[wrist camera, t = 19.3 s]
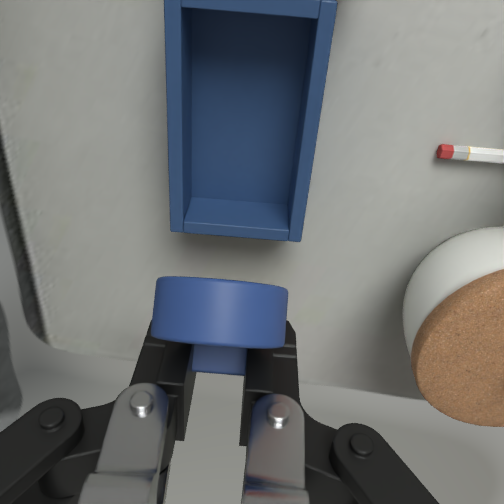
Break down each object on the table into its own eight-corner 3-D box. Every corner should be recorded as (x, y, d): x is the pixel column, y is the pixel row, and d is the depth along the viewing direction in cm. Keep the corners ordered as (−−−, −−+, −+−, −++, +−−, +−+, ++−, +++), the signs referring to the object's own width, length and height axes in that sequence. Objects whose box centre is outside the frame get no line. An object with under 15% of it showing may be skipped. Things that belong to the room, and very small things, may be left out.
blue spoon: (271, 297, 17) (266, 361, 17) (188, 290, 17) (181, 354, 17) (295, 285, 10) (287, 402, 9) (143, 272, 10) (130, 389, 9)
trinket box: (569, 303, 31) (672, 424, 23) (410, 351, 33) (452, 473, 26) (547, 166, 25) (669, 261, 18) (361, 236, 28) (395, 345, 20)
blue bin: (181, 201, 27) (170, 232, 24) (178, -19, 21) (162, -15, 18) (297, 211, 28) (300, 242, 25) (329, -6, 21) (338, 1, 18)
